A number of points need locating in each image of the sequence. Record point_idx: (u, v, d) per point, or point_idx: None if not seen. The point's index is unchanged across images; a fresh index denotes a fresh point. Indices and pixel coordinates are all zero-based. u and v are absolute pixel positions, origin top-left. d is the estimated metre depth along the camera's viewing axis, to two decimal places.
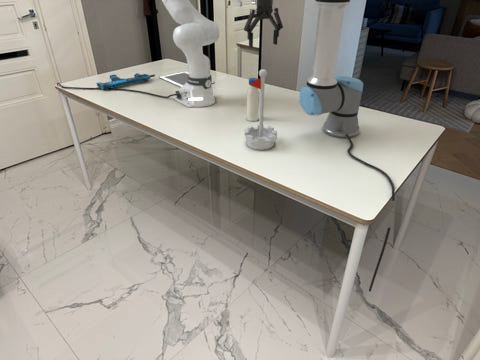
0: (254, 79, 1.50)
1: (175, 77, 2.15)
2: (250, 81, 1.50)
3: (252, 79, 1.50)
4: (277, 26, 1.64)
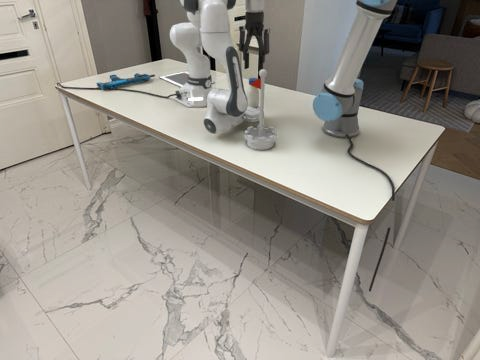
0: (254, 79, 1.50)
1: (175, 77, 2.15)
2: (250, 81, 1.50)
3: (252, 79, 1.50)
4: (261, 50, 1.41)
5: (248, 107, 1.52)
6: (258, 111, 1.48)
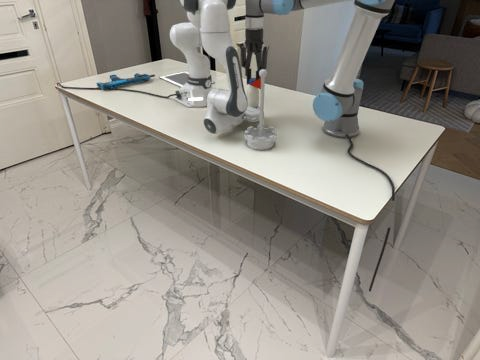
0: (254, 79, 1.50)
1: (175, 77, 2.15)
2: (250, 81, 1.50)
3: (252, 79, 1.50)
4: (258, 66, 1.45)
5: (248, 107, 1.52)
6: (258, 111, 1.48)
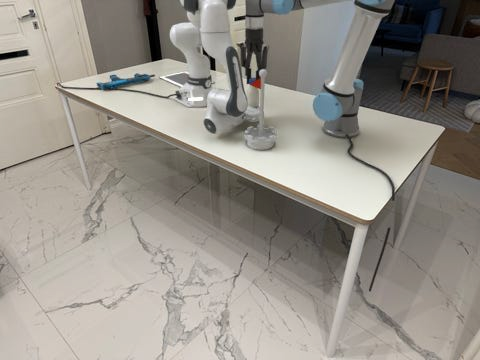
0: (254, 78, 1.51)
1: (175, 77, 2.15)
2: None
3: (254, 78, 1.50)
4: (258, 66, 1.45)
5: (248, 107, 1.52)
6: (258, 111, 1.48)
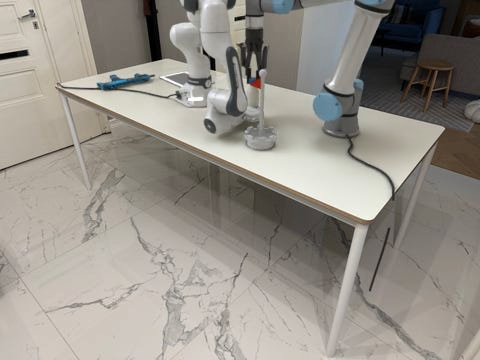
0: (251, 78, 1.51)
1: (175, 77, 2.15)
2: None
3: (253, 78, 1.51)
4: (258, 66, 1.45)
5: (248, 107, 1.52)
6: (258, 111, 1.48)
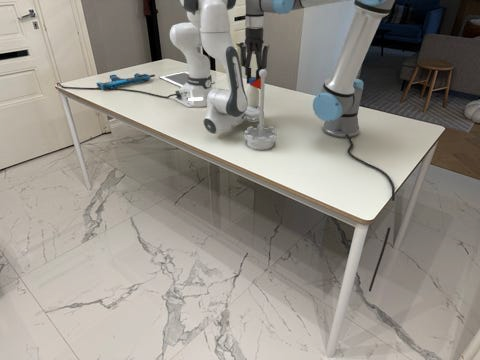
0: (254, 78, 1.50)
1: (175, 77, 2.15)
2: (249, 80, 1.50)
3: (252, 78, 1.50)
4: (258, 65, 1.45)
5: (248, 107, 1.52)
6: (258, 111, 1.48)
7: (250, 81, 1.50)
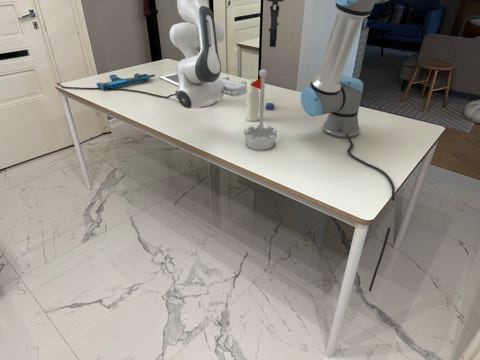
0: (270, 103, 1.71)
1: (175, 77, 2.15)
2: (273, 106, 1.70)
3: (271, 104, 1.71)
4: None
5: (229, 81, 1.37)
6: (240, 84, 1.32)
7: (273, 106, 1.71)
